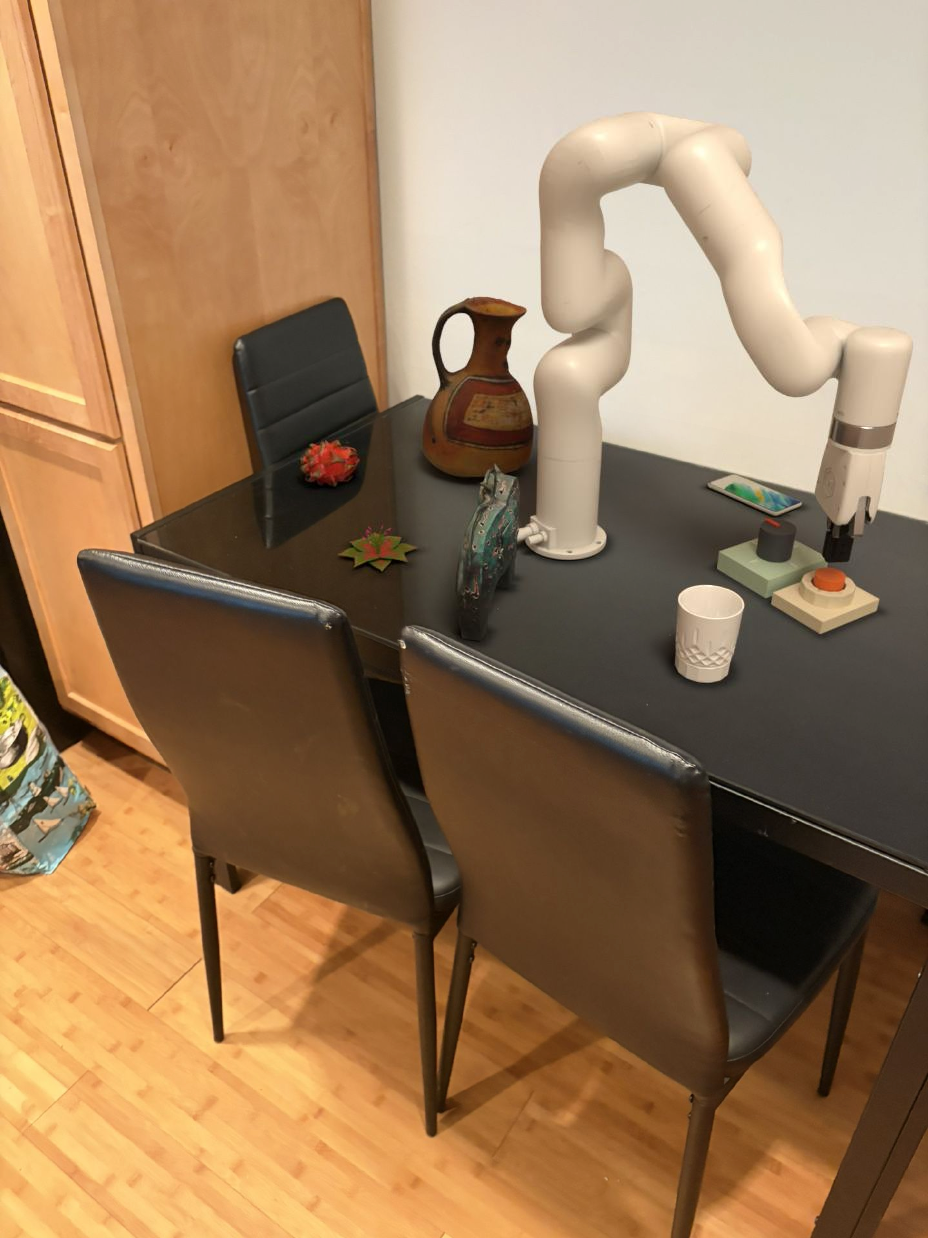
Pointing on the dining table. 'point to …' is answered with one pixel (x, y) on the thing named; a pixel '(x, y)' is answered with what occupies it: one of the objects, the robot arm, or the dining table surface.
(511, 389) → the ceramic pitcher
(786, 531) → the program dial
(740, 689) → the dining table surface
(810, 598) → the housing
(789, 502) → the smartphone
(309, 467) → the dragon fruit
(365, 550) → the lily flower
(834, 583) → the button
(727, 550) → the panel
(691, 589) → the white cup
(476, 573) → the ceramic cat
